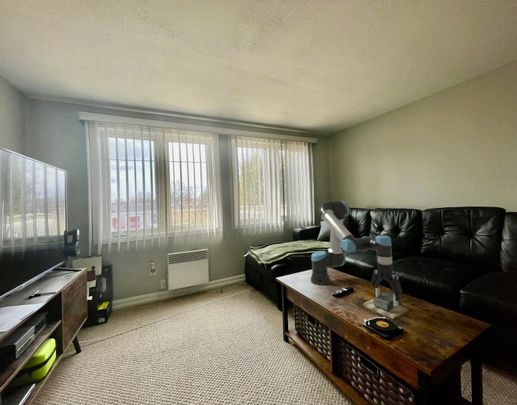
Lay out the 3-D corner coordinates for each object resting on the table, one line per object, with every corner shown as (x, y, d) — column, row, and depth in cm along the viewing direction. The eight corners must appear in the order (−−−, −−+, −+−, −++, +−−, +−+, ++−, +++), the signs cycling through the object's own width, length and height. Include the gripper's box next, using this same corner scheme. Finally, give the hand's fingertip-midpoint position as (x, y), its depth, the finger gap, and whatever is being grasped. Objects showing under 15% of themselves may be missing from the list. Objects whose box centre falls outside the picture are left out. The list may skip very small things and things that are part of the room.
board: (363, 305, 124) (363, 303, 124) (378, 299, 130) (377, 297, 130) (392, 318, 108) (392, 315, 109) (407, 311, 115) (407, 308, 115)
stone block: (371, 306, 120) (371, 296, 120) (385, 299, 127) (385, 290, 127) (387, 312, 112) (386, 302, 112) (401, 304, 119) (400, 295, 119)
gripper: (362, 260, 126) (364, 296, 126) (401, 269, 107) (403, 312, 106) (370, 258, 130) (372, 293, 130) (409, 266, 110) (411, 308, 110)
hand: (386, 302), depth 118 cm, fingers open, 9 cm apart
